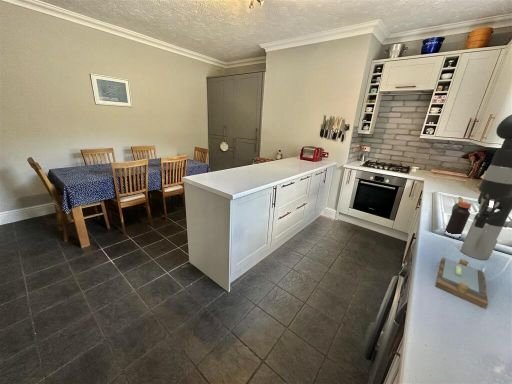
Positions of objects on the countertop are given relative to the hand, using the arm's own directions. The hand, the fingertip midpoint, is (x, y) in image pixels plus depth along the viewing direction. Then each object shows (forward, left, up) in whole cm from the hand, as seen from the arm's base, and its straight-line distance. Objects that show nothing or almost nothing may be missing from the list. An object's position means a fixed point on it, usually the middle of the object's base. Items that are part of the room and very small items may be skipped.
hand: (478, 226), depth 74 cm
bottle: (-33, -37, -23) cm, 55 cm away
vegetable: (-41, -47, -23) cm, 67 cm away
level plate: (-1, +1, -21) cm, 21 cm away
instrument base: (-1, +1, -23) cm, 23 cm away
